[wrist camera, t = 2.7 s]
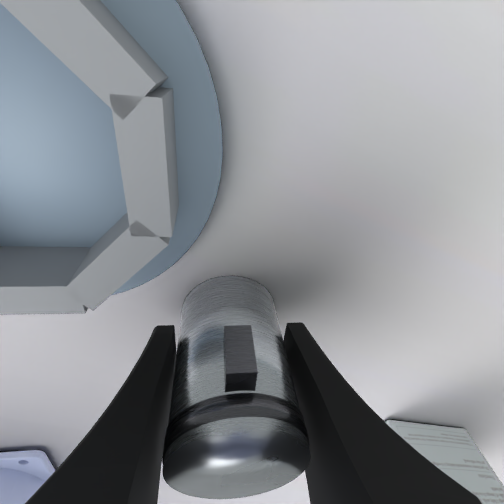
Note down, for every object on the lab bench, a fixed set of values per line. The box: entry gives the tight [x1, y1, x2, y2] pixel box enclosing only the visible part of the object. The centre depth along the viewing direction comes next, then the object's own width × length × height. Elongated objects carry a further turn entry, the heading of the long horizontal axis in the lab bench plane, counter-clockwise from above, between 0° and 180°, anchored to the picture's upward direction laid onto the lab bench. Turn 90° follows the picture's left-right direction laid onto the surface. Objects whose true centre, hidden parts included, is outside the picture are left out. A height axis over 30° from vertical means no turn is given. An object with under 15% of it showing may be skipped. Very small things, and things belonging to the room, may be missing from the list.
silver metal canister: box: [162, 276, 311, 499], centre depth 11 cm, size 4×5×6 cm
